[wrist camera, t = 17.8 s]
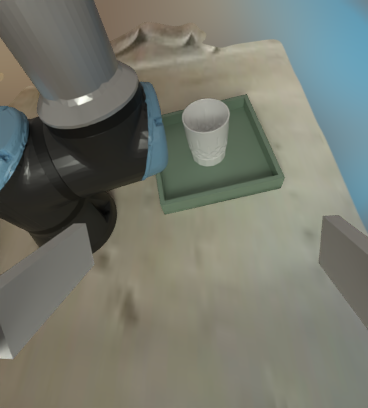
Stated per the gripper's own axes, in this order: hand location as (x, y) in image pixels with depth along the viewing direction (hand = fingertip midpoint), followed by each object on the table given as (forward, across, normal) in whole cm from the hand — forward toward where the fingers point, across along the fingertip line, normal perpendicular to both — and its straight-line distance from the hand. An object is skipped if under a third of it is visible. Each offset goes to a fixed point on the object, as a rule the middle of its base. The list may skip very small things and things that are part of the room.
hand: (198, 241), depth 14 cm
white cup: (+38, 0, 0) cm, 39 cm away
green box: (+39, 0, 0) cm, 39 cm away
